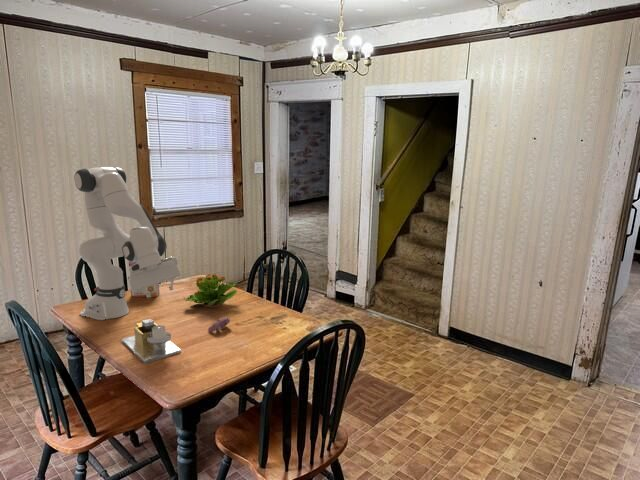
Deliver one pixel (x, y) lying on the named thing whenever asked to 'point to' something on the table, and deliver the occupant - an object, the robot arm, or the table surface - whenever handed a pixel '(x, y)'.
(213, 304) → the potted flower
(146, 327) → the tall grey square post
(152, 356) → the silver and gold device
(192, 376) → the table surface
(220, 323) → the video game controller
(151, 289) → the cracker box
